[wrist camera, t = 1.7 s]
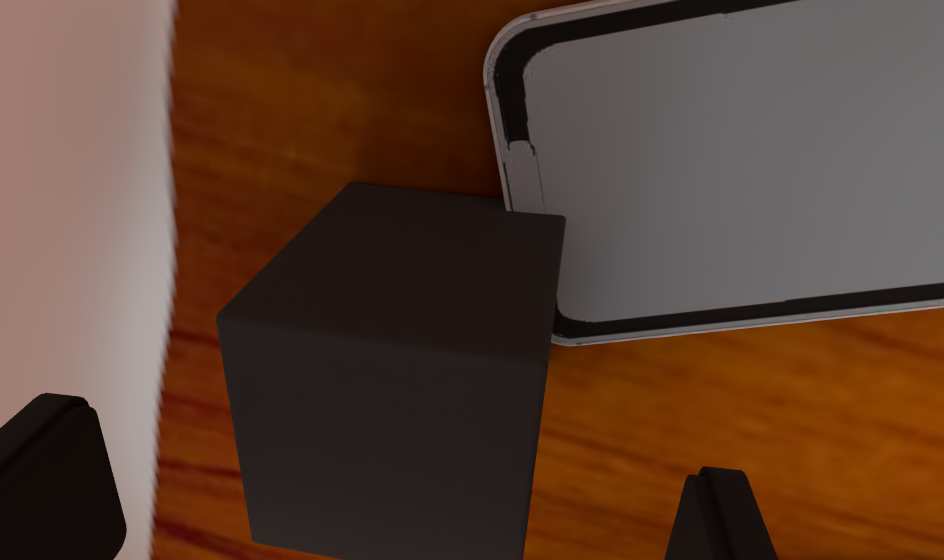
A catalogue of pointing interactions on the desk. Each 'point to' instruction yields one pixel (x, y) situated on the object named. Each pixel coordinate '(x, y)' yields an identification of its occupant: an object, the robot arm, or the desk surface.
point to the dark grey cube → (395, 377)
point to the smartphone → (727, 159)
